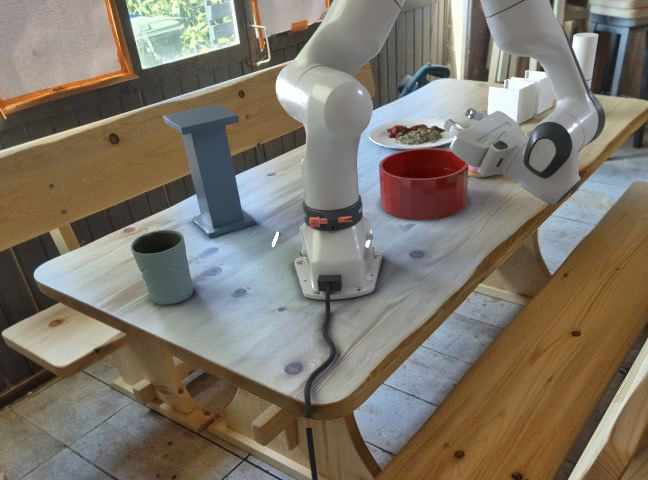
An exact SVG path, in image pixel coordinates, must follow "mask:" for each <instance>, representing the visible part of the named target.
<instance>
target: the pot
mask: <svg viewBox="0 0 648 480" xmlns="http://www.w3.org/2000/svg"><path fill="white" fill-rule="evenodd" d="M468 174H469V164H467V163H466V162H464V161H463V160H461V159H460V158H459V157H457V156H456V155H455V154H454V153H453V152H452V151H451V149H445V148H437V147H434V148H421V149H411V150H401V151H398V152H394V153H391V154H389V155H387V156H385V157H384V158H383V159H382V160H380V163H379V164H378V175H379V176H378V177H379V193H380V207H381V208H382V210H384V212H385V213H386V214H388V215H390V216H393V217H396V218H399V219H403V220H410V221H431V220H440V219H444V218H447V217H450V216H453V215H456V214H458V213H460V212H461V211H463V210H464V209H465V208H466V207H467V204H468V197H469V196H468V195H469V175H468Z"/></svg>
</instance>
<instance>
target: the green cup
mask: <svg viewBox="0 0 648 480" xmlns="http://www.w3.org/2000/svg"><path fill="white" fill-rule="evenodd" d="M130 251H131V252H132V255H133V258H134V260H135V262H136V264H137V267H138V269H139V271H140V273H141V276H142V279H143V281H144V283H145V286H146V290H147V293H148V295H149V297H150V299H151V301H152V302H153V303H155V304H156V305H161V306H168V305H169V306H170V305H175V304H179V303H182V302H183V301H185V300H187V299H188V298H190V297H191V296H192V294H193V293H194V285H193V280H192V276H191V271H190V265H189V261H188V257H187V248H186V242H185V237H184V234H183V233H182V232H180V231H177V230H174V229H158V230H153V231H149V232H147V233H144V234H141V235H140V236H138V237H136V238H135V239H134V240H133V241H132V242H131V244H130Z"/></svg>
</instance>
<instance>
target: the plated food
mask: <svg viewBox="0 0 648 480" xmlns="http://www.w3.org/2000/svg"><path fill="white" fill-rule="evenodd" d="M445 121H447V120H446V119H442V118H441V119H440V118H429V117H428V118H425V117H419V118H417V117H416V118H405V119H399V120H394V121H390V122H386V123H383V124H380V125H377V126H376V127H374V128H373V129H372V130H371V131H370V132H369V135H368V137H369V140H370V141H371V142H372V143H374V144H376V145H378V146H382V147H385V148H391V149H395V150H402V151H405V150H411V149H421V148H438V147H442V146H445V145H448V144H451V142H452V140H453V138H452V136H451V134H450V133H449V131H448V130H446V129H445V128H444V123H445ZM455 125H456V126H457V128H458V129H459V128H461V129H462V130H464V128H463V126H461V125H460V124H458V123H457V122H456V123H455Z"/></svg>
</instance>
